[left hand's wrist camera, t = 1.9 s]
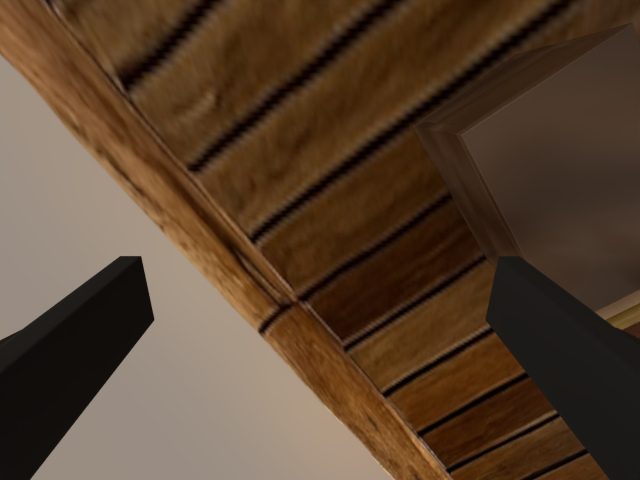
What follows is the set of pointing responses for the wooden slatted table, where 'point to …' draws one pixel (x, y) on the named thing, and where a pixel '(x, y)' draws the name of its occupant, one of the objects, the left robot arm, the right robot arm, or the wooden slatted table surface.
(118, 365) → the left robot arm
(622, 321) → the drawer
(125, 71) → the wooden slatted table surface
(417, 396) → the wooden slatted table surface
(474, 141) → the cabinet
